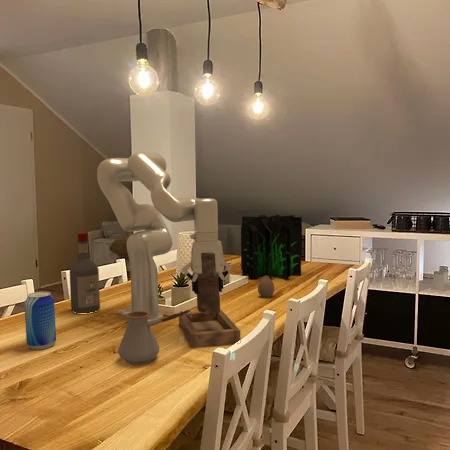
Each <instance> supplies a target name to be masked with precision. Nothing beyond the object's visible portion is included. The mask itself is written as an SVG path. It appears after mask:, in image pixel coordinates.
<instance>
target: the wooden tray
mask: <svg viewBox="0 0 450 450" xmlns="http://www.w3.org/2000/svg"><path fill="white" fill-rule="evenodd" d="M191 313H192V317H191ZM191 313H190V312H188V313H187V314H184V315H183V316H179V317H178V325H179V327H180V329H181V331H182V332H183V334H184V336H185V338H186V340H187V342H188V344H189V346H190V347H191V349H197V348H198V349H199V348H206V347H215V346H226V345H235V344H234V343H236V342H238V341H239V340H240V341H241V329H240V328H239V327H238V326H237V325H236V324H235V323H234V322H233V321H232V320H231V319H230V318H229V317H228V315H227V314H226V313H225V312H224V311H223V310H222V309H220V312H219V313H217V314H215V315H207V314H203V313H201V312H199V311H191ZM188 314H189V316H190V317H189V316H188Z"/></svg>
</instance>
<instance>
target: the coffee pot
mask: <svg viewBox="0 0 450 450" xmlns="http://www.w3.org/2000/svg"><path fill="white" fill-rule="evenodd" d="M188 312H190V313H191V312H192V311H191V310H189V309H187V310H184V311H182V310H181V311H179V312H177V313H173V314H171V315H168V316H166V317H163V319H161V320H159V321H156V322H153V323H148V322H147V320H148V316H149V315H150V314H149V313H148V312H143V311H138V312H131V313H128V314H127V315H126V316H125V317H126V318H127V321H128V324H127V325H126V329H125V331H124V333H123V336H122V339H121V341H120V344H119V345H118V346H119V347H118V348H117V353H118V356H119V357H120V358H121V359H122V360H124V361H125V363H126V364H129V365H145V364H148V363H150V362H152V361H153V360H154V358H156V357H157V355H158V354H159V353H160V345H159V343H158V341H157V339H156V336H155V334H154V332H153V330H152V328H151V327H153V326H156V325H159V324H161V323H166V322H168V321H172V320H175V319H177V318H179V316H183V315H184V314H187V313H188ZM188 316H189V314H188ZM189 317H190V316H189ZM191 317H192V313H191Z"/></svg>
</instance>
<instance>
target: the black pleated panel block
mask: <svg viewBox="0 0 450 450" xmlns="http://www.w3.org/2000/svg"><path fill="white" fill-rule="evenodd" d="M241 220H242V221H241V226H240V251H241V252H240V262H241V263H240V265H241V266H240V269H241V274H242V276H248V280H255V281H256V280H258V279H259V278H263V276H269V278H270V279H271V281H272V280H273V278H277V279H279V280H284V281H288V279H290V277H301V276H302V258H303V256H302V255H303V226H302V225H303V222H302V221H303V217H302V216H294V215H293V214H291V215H280V214H275V215H271V216H266V214H265V215H264V214H258V216H242V217H241ZM272 282H273V281H272Z"/></svg>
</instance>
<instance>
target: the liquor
mask: <svg viewBox="0 0 450 450" xmlns="http://www.w3.org/2000/svg"><path fill="white" fill-rule="evenodd" d="M88 234H89V233H88V232H77V242H78V244H77V245H78V256H77V259H76V261H75V262H74V263H73V264H72V266H71V267H70V269H69V286H70V287H69V289H70V290H69V291H70V310H71V312H72V311H74V312H76V313H90V312H95V311H98V312H99V310H100V308H101V301H100V300H101V299H100V298H101V297H100V273H99V271H100V270H99V267H98V265H97V264H96V263H95V262H93V260H92V259H91V258H90V255H89V244H88V243H89V242H88V241H89V235H88ZM76 313H75V314H76ZM95 313H96V312H95Z"/></svg>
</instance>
